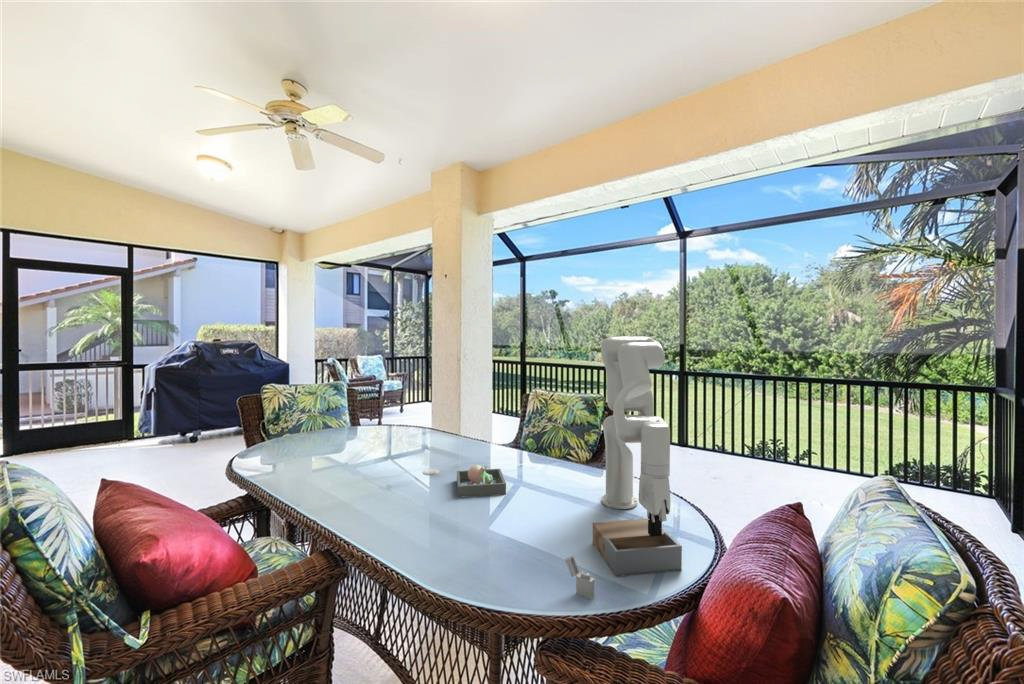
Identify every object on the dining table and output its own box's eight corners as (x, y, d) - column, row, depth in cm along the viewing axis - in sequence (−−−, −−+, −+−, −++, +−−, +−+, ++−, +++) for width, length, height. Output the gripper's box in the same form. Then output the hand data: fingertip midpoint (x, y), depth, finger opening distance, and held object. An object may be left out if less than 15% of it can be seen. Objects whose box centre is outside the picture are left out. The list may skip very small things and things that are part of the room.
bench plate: (592, 542, 133) (592, 522, 133) (650, 538, 136) (650, 518, 135) (604, 560, 123) (604, 538, 123) (666, 554, 126) (666, 533, 126)
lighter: (594, 596, 107) (594, 563, 107) (591, 599, 106) (591, 566, 106) (568, 585, 112) (568, 554, 111) (565, 589, 110) (565, 556, 110)
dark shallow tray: (456, 480, 187) (456, 471, 187) (500, 478, 189) (500, 468, 189) (458, 497, 169) (458, 486, 169) (506, 494, 172) (505, 483, 171)
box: (604, 560, 123) (604, 537, 123) (666, 554, 126) (666, 532, 126) (615, 576, 115) (615, 551, 115) (681, 570, 118) (681, 546, 118)
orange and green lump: (490, 478, 172) (502, 474, 179) (474, 458, 176) (487, 455, 184) (472, 499, 175) (485, 494, 183) (457, 479, 179) (471, 475, 187)
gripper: (630, 460, 129) (630, 524, 130) (654, 478, 114) (654, 549, 115) (655, 459, 130) (655, 522, 131) (682, 476, 115) (682, 547, 116)
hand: (654, 534), depth 123 cm, fingers closed
